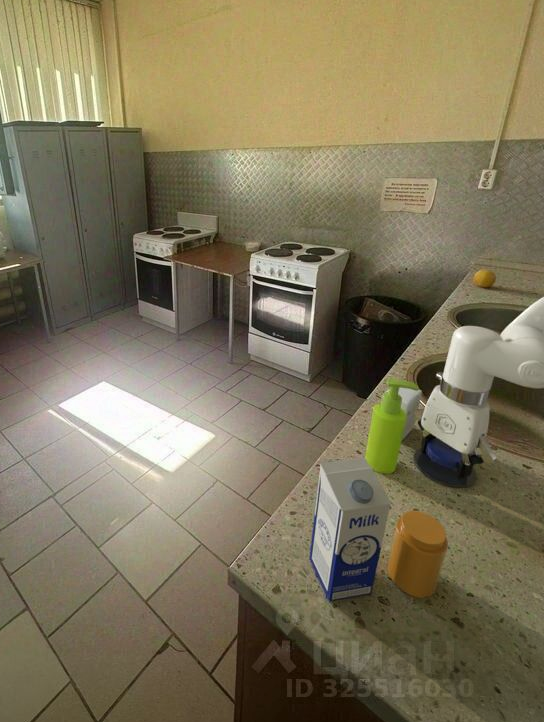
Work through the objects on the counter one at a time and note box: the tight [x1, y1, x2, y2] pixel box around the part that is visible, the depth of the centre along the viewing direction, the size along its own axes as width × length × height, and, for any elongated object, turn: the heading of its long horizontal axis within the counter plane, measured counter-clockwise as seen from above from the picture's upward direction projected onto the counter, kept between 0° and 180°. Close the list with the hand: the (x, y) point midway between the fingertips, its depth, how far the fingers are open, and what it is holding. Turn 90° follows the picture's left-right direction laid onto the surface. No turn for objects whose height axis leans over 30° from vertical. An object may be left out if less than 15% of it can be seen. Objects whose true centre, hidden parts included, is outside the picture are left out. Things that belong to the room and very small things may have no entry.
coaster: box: [412, 447, 477, 489], centre depth 81 cm, size 11×11×1 cm
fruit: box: [472, 269, 497, 288], centre depth 183 cm, size 9×8×8 cm
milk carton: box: [309, 456, 392, 602], centre depth 58 cm, size 7×7×20 cm
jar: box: [386, 510, 449, 599], centre depth 59 cm, size 7×7×10 cm
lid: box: [426, 438, 463, 469], centre depth 80 cm, size 7×7×2 cm
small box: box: [380, 388, 423, 442], centre depth 91 cm, size 8×6×10 cm
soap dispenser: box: [364, 378, 420, 475], centre depth 79 cm, size 6×7×20 cm
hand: (443, 462), depth 81 cm, fingers closed on lid, 6 cm apart
